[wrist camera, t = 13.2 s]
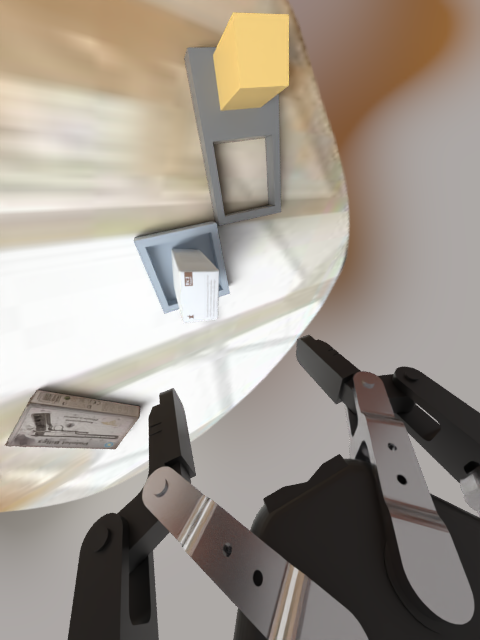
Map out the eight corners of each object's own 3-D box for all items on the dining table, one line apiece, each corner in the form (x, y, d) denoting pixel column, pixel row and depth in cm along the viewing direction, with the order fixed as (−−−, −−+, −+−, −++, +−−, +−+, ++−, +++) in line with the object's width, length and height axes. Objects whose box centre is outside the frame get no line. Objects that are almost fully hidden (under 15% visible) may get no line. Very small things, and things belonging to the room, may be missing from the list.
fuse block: (184, 58, 21) (200, -1, 15) (268, 57, 23) (314, 5, 17) (215, 224, 30) (234, 231, 24) (274, 211, 32) (305, 215, 26)
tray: (134, 237, 27) (133, 241, 25) (211, 221, 30) (216, 222, 28) (163, 306, 33) (164, 313, 31) (225, 288, 36) (229, 293, 34)
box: (118, 436, 45) (116, 450, 42) (12, 430, 35) (2, 448, 32) (142, 404, 43) (141, 417, 40) (36, 387, 33) (27, 403, 30)
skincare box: (200, 285, 33) (221, 321, 24) (171, 286, 32) (182, 326, 22) (199, 246, 30) (223, 270, 21) (168, 246, 29) (178, 271, 19)
